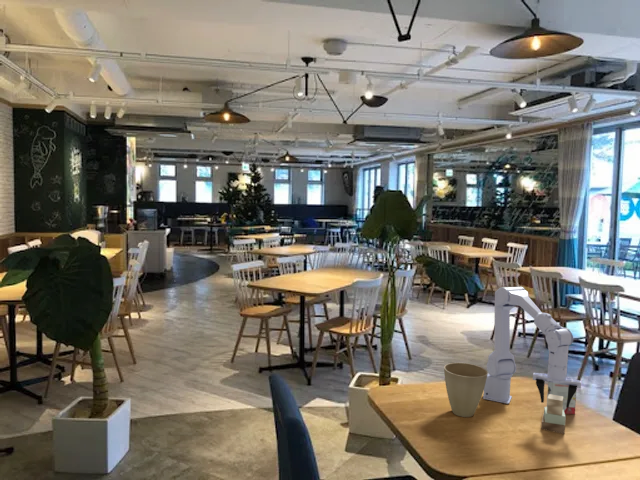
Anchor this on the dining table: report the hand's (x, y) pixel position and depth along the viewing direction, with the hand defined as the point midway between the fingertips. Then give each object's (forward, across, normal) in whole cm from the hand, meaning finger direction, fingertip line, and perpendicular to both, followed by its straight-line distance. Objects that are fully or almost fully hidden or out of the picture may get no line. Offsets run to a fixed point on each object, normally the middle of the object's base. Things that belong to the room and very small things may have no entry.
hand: (554, 404), depth 170 cm
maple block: (+3, 0, 0) cm, 3 cm away
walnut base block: (+9, 0, +1) cm, 9 cm away
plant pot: (+8, -29, -4) cm, 30 cm away
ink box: (+8, +1, +17) cm, 19 cm away
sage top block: (+6, 0, +1) cm, 6 cm away
